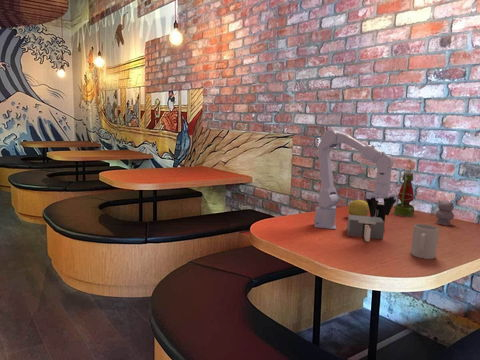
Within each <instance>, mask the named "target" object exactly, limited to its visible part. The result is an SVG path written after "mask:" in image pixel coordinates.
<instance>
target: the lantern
mask: <svg viewBox="0 0 480 360" xmlns="http://www.w3.org/2000/svg"><path fill="white" fill-rule="evenodd" d="M409 163H410V166H412V165H413V164H412V160H410V159H409V160H408V161H407V164H406V171H405V172H403V175H402V179H401V180H402V181H403V182H402V184H401V187H400V189H399V192H397V198H398V200H399V202H400V203H397V204H394V210H393V214H394V215H396V216H400V217H414V216H415V214H414V212H415V207H414V205H412V204H410V203H411V202H412V201H413V200H414V198H415V194H414V188H413V181H414V173H413V172H412V167H408V166H409Z"/></svg>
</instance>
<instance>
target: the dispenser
mask: <svg viewBox="0 0 480 360" xmlns="http://www.w3.org/2000/svg"><path fill="white" fill-rule="evenodd" d="M347 216H348V217H347V225H346V226H347V227H346V232H347V235H348V236H350V237H359V238H362V237H363V224H368V225H369V226H370V228H371V232H370V239H377V240H384V232H385V223H386V222H385V223H384V221H383V220H382V218H379V217H370V216H368V215H367V216H357V215H350V214H348V215H347Z"/></svg>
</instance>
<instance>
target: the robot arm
mask: <svg viewBox="0 0 480 360" xmlns="http://www.w3.org/2000/svg"><path fill="white" fill-rule="evenodd" d="M340 144H345V145H347V146H349V147H351V148H353V149H354V150H357V151H358V152H360V153H361V157H363V158H364V159H366V160H368V161H369V162H370V163H373V164H374V165H376V167H377V169H376V175H375V186H374V192H371V193H366V194H365V202H367V203H368V206H369V216H370V215H371V216H375V213H376V207H377V204H378V202H380V201H379V199H382V200H383V203H384V214H385V216H389V215H390V213H391V210H392V208H393V206H395V203H397V193H395V192H390V188H391V187H390V186H391V180H392V167H393V166H394V164H395V159H394V157H393V156H392V155H391V154H389V153H388V154H386V152H385V151H381V149H378V148H376V145H374V144H372V145H371V144H368V145H365V144H363V143H362V142H361V141H360V140H357V139H355V138H354V137H352V136H350V135H349V134H348V133H345V132H342V131H341V130H333V129H328V130H326V131H325V132H323V133H322V135H321V136H320V141H319V145H318V146H317V155H318V156H317V157H318V164H319V174H320V184H321V185H320V186H321V188H320V191H319V193H318V194H319V197H318V205H319V206H315V213H314V219H313V223H314V224H313V225H314V226H313V227H314V228H321V229H330V230H336V229H337V228H336V227H337V226H336V224H335V223H336V214H337V205H338V204H339V202H340V197H339V194H338V193H337V189H336V187H335V185H334V179H333V177H334V176H333V169H332V168H333V166H332V158H331V157H332V155H331V151H332V150H333V149H334V148H335V147H336V146H339V145H340ZM377 199H378V200H377Z"/></svg>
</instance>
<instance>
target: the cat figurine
mask: <svg viewBox="0 0 480 360" xmlns="http://www.w3.org/2000/svg"><path fill="white" fill-rule="evenodd" d="M437 202H438V204H437V207H438V209H437V210H436V212H435V217H436V218H437V220H436V224H437V225H440V224H441V226H447V225H449V226H451V221H452V220H453V219H454V218H455V214H454V212H453V210H454V209H455V208H454V207H455V206H454V202H451V201H449V200H440V199H437Z"/></svg>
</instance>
